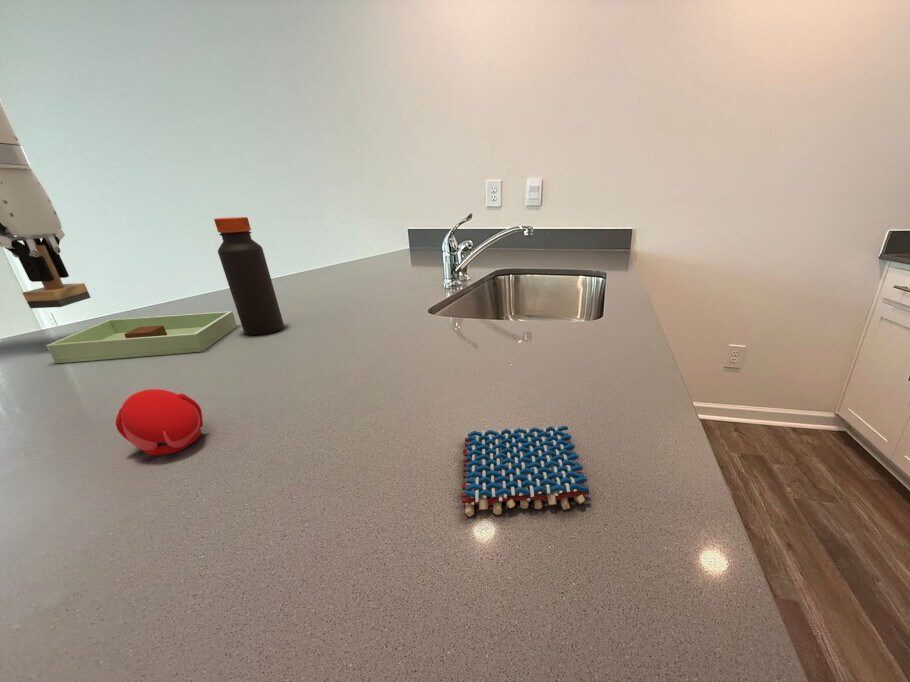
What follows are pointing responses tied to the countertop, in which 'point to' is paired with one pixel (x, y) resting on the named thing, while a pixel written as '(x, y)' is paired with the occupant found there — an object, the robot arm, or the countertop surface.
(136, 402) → the cap
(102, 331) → the tray
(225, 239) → the bottle
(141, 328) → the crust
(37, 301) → the brush
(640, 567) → the countertop surface
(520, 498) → the woven mat
